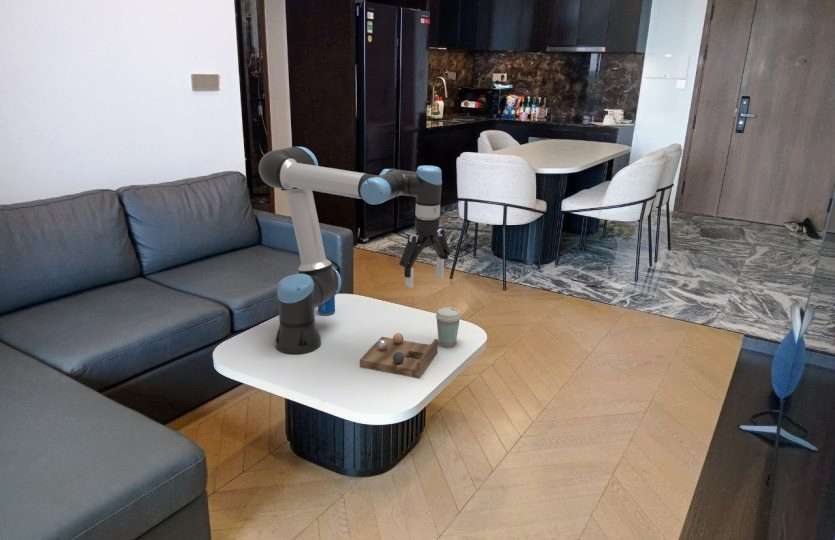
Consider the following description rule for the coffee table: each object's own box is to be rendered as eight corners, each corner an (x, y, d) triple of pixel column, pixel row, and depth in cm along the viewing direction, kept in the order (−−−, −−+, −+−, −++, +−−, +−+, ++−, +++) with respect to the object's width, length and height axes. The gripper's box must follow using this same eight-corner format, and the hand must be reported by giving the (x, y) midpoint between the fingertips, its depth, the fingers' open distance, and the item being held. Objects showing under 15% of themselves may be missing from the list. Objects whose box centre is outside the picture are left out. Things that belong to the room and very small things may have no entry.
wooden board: (359, 366, 184) (359, 352, 182) (381, 343, 200) (381, 330, 198) (419, 378, 178) (420, 363, 176) (437, 353, 194) (437, 339, 192)
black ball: (391, 364, 180) (391, 354, 179) (395, 359, 184) (395, 349, 182) (401, 366, 179) (401, 355, 178) (405, 361, 183) (405, 351, 181)
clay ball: (391, 344, 194) (391, 334, 193) (395, 340, 197) (395, 330, 196) (401, 346, 193) (401, 336, 191) (405, 341, 196) (405, 332, 195)
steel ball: (375, 351, 189) (375, 341, 188) (379, 346, 192) (379, 336, 191) (385, 352, 188) (385, 343, 187) (389, 348, 191) (389, 338, 190)
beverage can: (315, 315, 222) (314, 285, 218) (321, 308, 228) (320, 280, 224) (332, 316, 221) (331, 287, 217) (337, 310, 227) (336, 281, 223)
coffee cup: (457, 350, 196) (459, 317, 192) (432, 347, 197) (433, 315, 194) (461, 339, 204) (462, 307, 200) (437, 337, 205) (438, 305, 201)
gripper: (405, 225, 169) (403, 294, 176) (463, 213, 185) (459, 276, 192) (388, 220, 174) (387, 287, 181) (446, 209, 190) (443, 270, 197)
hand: (424, 281), depth 186 cm, fingers open, 13 cm apart
